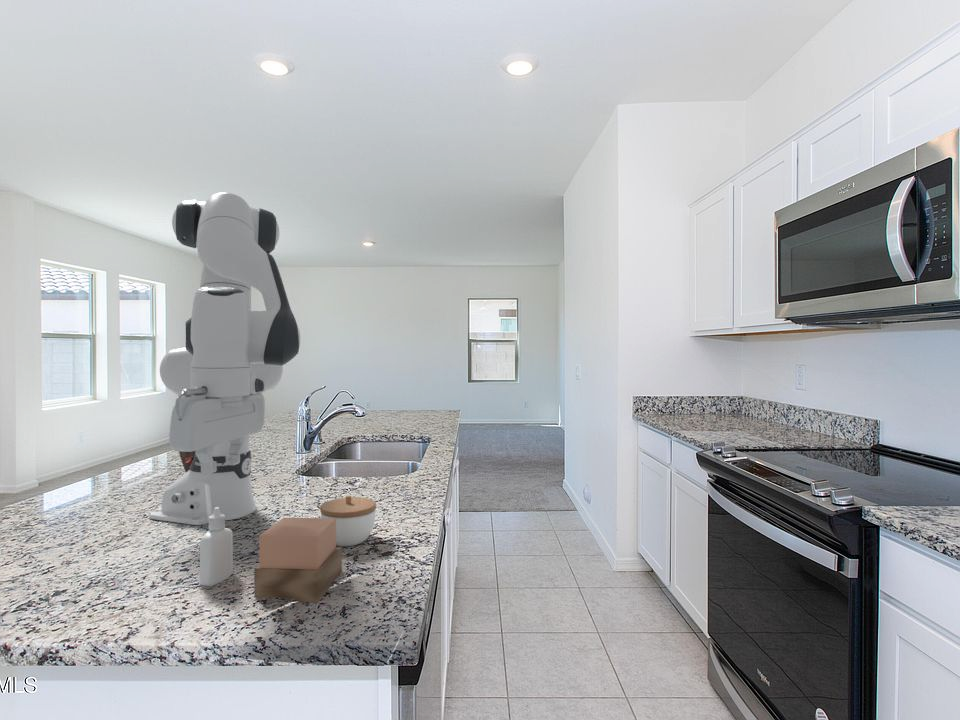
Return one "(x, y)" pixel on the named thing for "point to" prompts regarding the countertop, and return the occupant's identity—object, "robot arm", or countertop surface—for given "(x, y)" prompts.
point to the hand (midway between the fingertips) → (221, 468)
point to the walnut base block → (298, 580)
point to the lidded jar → (350, 518)
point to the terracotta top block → (297, 543)
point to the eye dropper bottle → (216, 551)
